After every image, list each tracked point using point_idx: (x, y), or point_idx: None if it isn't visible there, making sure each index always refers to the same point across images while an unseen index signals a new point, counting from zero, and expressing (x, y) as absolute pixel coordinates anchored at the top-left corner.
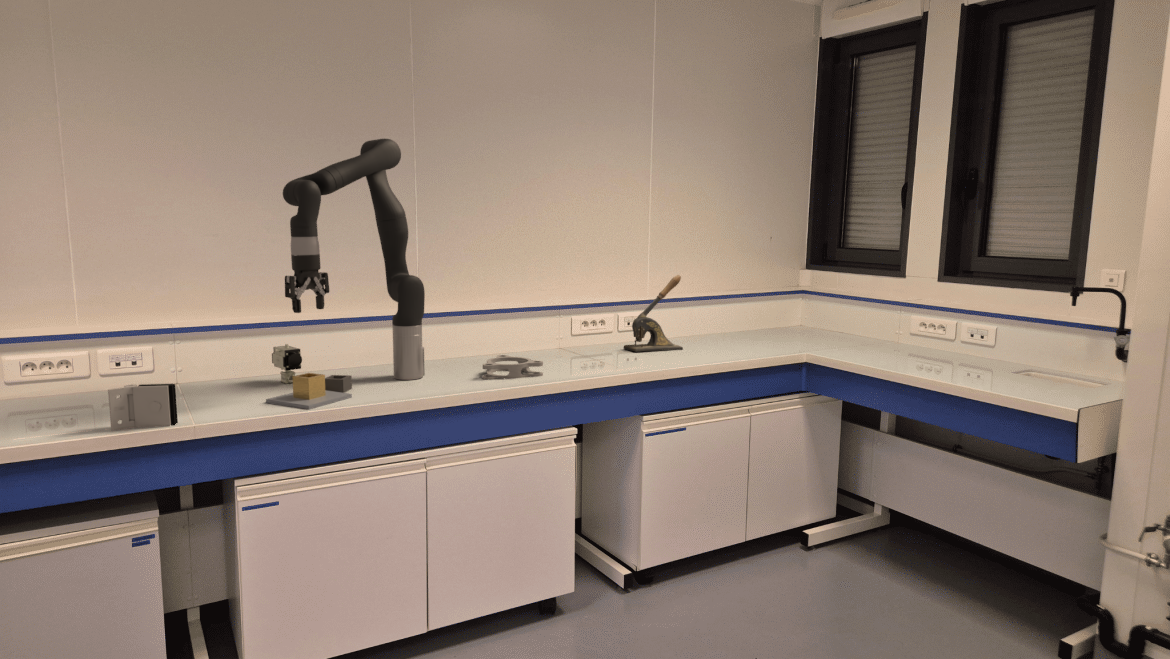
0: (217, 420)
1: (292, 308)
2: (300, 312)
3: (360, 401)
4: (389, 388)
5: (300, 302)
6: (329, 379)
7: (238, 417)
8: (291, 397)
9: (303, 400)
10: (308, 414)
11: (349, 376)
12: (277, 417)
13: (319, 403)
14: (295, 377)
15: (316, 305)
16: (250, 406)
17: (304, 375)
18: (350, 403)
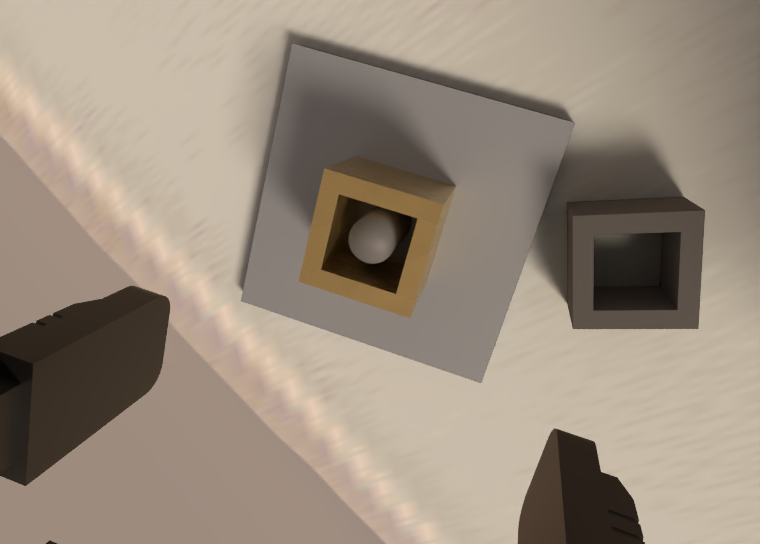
0: (7, 40)
1: (69, 306)
2: (153, 374)
3: (418, 434)
4: (704, 474)
5: (57, 455)
6: (573, 251)
7: (66, 92)
8: (353, 146)
9: None
10: (184, 328)
11: (666, 328)
12: (115, 240)
13: (295, 318)
14: (319, 190)
15: (556, 454)
16: (221, 16)
17: (386, 207)
18: (377, 409)
